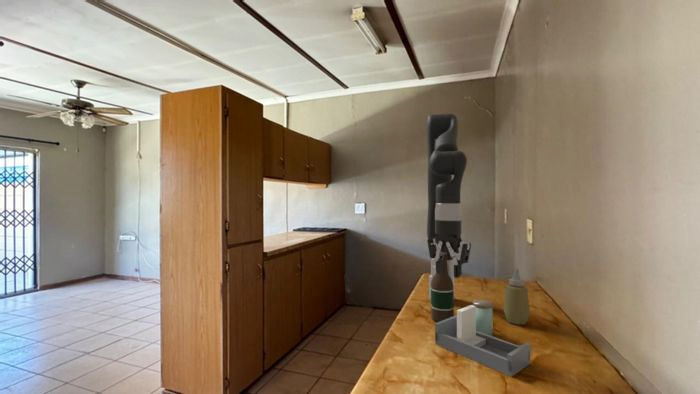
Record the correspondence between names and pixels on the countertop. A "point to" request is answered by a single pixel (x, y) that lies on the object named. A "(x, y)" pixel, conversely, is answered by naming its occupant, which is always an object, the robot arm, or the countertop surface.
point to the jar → (484, 316)
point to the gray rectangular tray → (484, 349)
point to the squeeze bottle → (516, 300)
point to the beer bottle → (442, 295)
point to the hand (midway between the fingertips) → (448, 275)
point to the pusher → (468, 326)
